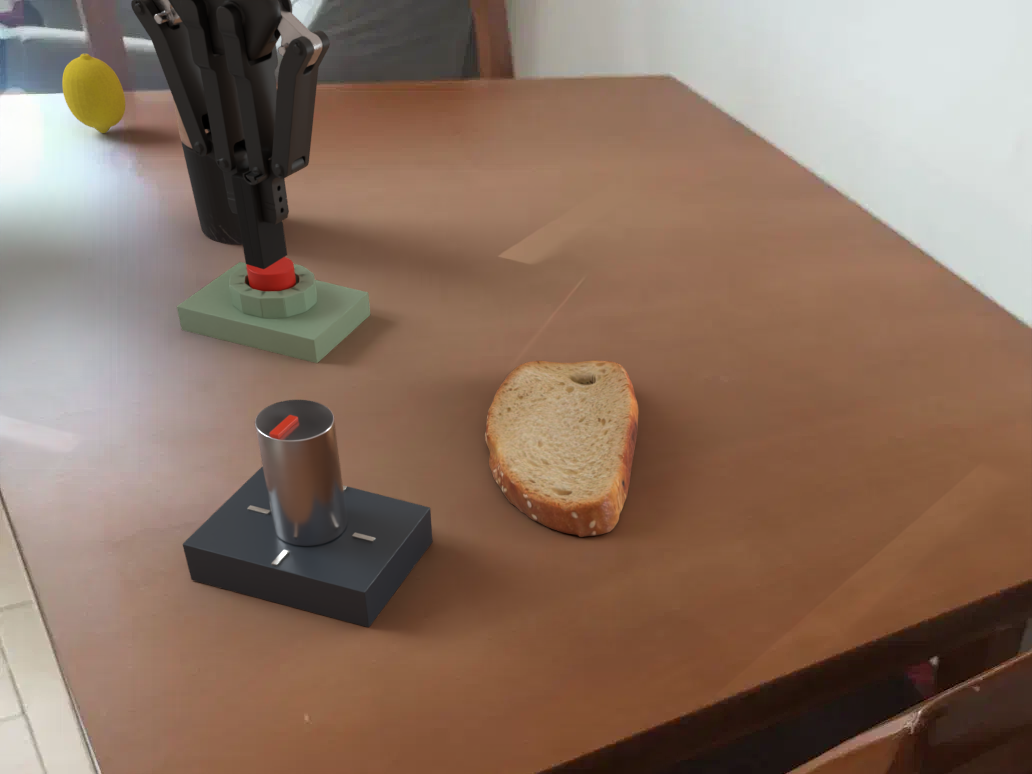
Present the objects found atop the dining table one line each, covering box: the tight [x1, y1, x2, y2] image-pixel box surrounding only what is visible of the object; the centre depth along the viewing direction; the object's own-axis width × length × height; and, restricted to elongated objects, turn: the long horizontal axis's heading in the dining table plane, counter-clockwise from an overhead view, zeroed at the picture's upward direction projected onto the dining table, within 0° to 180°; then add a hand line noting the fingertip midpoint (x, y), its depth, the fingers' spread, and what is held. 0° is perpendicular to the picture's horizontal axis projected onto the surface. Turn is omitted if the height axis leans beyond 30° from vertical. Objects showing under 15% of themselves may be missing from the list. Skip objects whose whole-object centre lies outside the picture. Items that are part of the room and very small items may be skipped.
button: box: [246, 256, 296, 291], centre depth 92 cm, size 4×4×2 cm
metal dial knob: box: [254, 399, 347, 546], centre depth 69 cm, size 4×4×8 cm
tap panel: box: [182, 465, 434, 628], centre depth 72 cm, size 12×9×3 cm
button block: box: [176, 261, 371, 364], centre depth 93 cm, size 12×9×4 cm
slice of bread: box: [484, 359, 639, 538], centre depth 86 cm, size 18×18×4 cm
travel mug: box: [172, 97, 243, 246], centre depth 100 cm, size 8×8×20 cm
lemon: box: [61, 53, 126, 134], centre depth 116 cm, size 6×6×8 cm
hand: (266, 259), depth 81 cm, fingers closed
